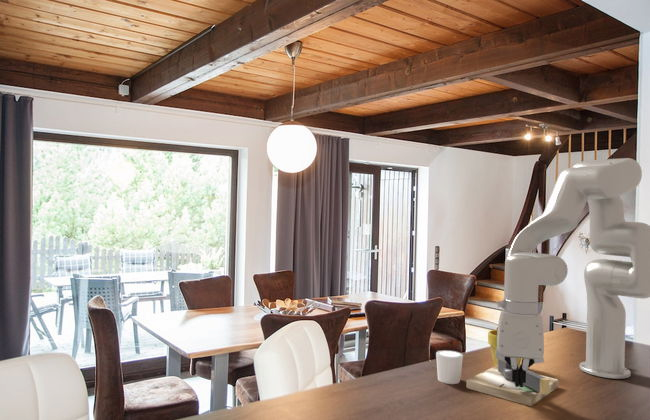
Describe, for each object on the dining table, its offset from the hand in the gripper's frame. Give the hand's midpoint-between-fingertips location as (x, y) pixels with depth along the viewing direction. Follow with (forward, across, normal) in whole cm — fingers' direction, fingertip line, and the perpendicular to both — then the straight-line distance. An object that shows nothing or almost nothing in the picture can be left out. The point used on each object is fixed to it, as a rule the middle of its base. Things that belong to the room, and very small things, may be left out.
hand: (518, 385), depth 119 cm
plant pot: (+4, -1, +26) cm, 26 cm away
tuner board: (+4, 0, +9) cm, 9 cm away
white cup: (+4, -16, +9) cm, 19 cm away
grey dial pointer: (+1, +1, +6) cm, 6 cm away
